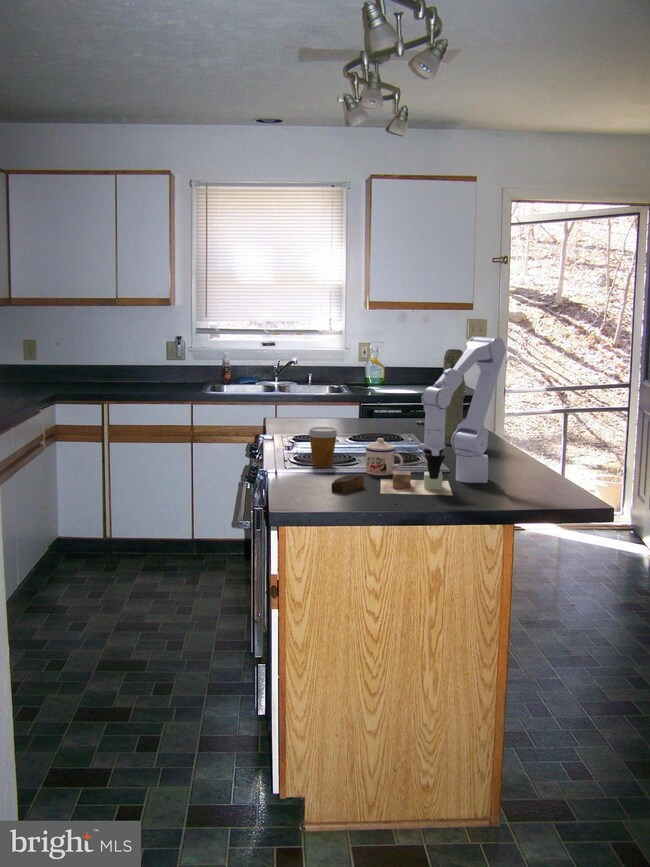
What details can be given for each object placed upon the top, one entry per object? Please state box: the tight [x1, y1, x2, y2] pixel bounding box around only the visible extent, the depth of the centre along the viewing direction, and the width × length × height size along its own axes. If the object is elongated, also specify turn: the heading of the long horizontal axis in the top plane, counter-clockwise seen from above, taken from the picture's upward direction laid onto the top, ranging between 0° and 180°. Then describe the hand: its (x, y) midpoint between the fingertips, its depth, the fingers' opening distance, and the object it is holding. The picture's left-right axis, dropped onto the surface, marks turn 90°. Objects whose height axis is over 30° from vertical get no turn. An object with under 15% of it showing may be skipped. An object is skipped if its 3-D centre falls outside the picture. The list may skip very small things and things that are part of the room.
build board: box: [380, 478, 453, 496], centre depth 250 cm, size 20×18×1 cm
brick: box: [331, 473, 365, 495], centre depth 246 cm, size 11×4×5 cm, turn 143°
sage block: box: [423, 471, 444, 490], centre depth 250 cm, size 5×5×4 cm
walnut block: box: [392, 470, 412, 489], centre depth 250 cm, size 5×5×4 cm
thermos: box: [442, 348, 466, 446], centre depth 323 cm, size 9×12×35 cm
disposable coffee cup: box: [308, 426, 339, 468], centre depth 282 cm, size 10×10×12 cm
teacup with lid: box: [365, 437, 404, 476], centre depth 268 cm, size 12×9×12 cm
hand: (433, 475), depth 249 cm, fingers open, 7 cm apart
